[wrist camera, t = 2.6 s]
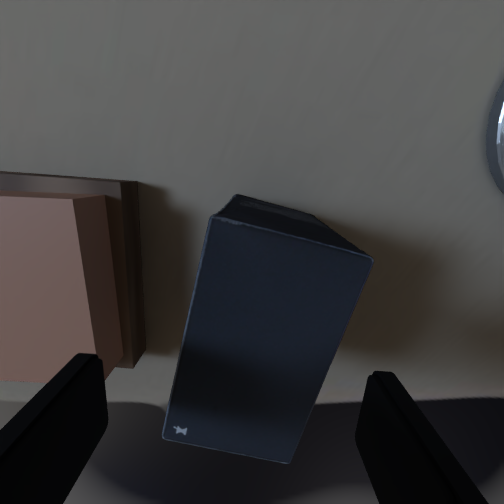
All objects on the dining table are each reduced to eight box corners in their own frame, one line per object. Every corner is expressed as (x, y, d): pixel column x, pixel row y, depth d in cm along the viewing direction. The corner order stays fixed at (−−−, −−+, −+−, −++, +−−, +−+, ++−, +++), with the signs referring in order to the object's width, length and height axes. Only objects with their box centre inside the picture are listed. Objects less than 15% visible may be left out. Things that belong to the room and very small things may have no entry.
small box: (278, 337, 22) (294, 475, 12) (202, 318, 22) (153, 443, 12) (320, 214, 19) (387, 261, 9) (232, 191, 19) (200, 212, 9)
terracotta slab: (104, 194, 17) (72, 199, 14) (123, 355, 20) (100, 385, 17) (-82, 186, 17) (-153, 189, 14) (-32, 347, 20) (-80, 376, 17)
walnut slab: (141, 180, 19) (120, 182, 16) (148, 344, 23) (133, 368, 20) (-48, 166, 19) (-101, 165, 17) (-8, 331, 23) (-45, 353, 21)
